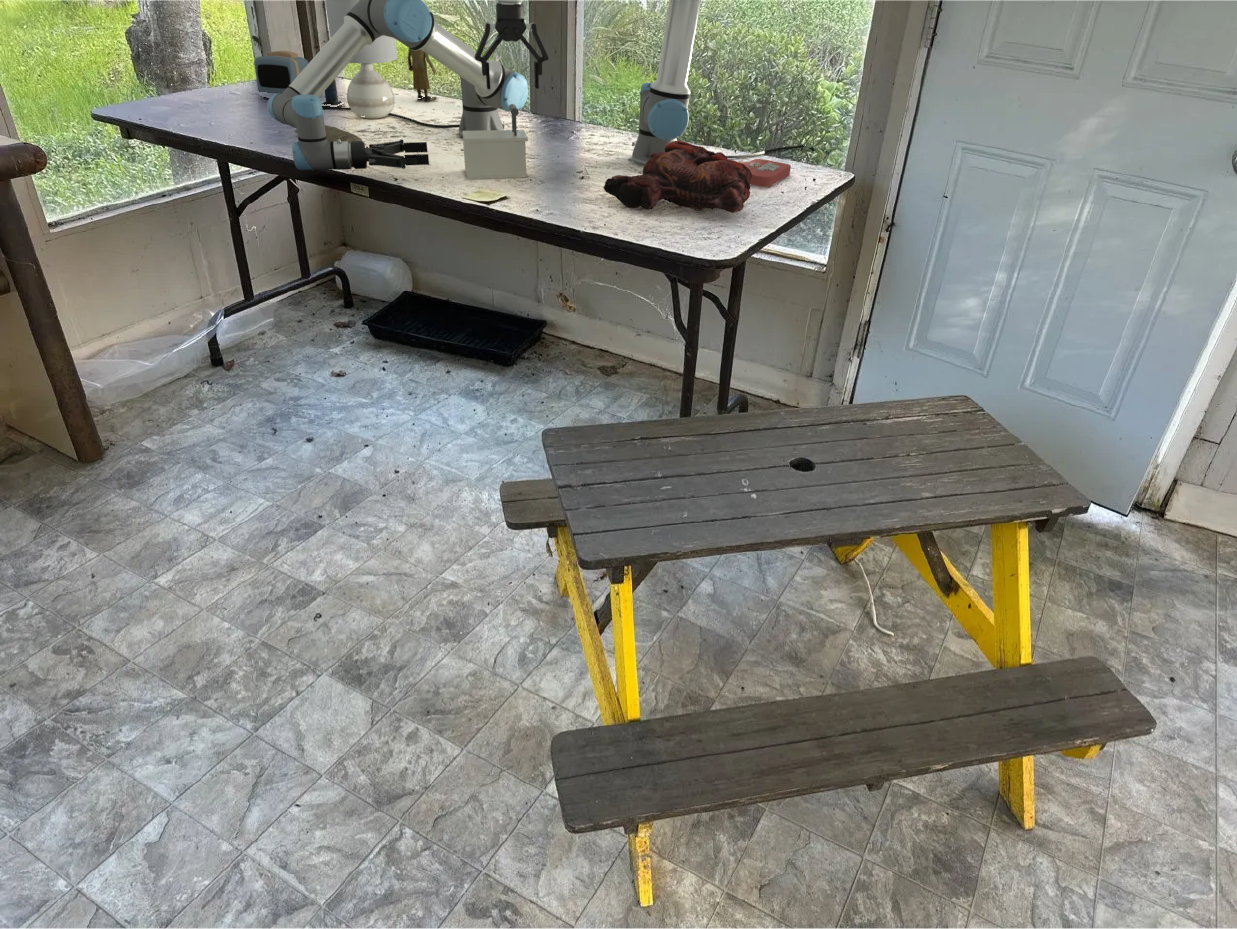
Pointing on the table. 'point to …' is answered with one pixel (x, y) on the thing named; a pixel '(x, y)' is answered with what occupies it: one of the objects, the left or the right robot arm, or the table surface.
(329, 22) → the lamp
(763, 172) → the plaque
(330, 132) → the stone tool
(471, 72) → the left robot arm
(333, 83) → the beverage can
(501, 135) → the lid
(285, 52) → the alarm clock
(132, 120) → the table surface
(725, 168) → the sculpture
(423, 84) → the figurine
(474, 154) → the chest
